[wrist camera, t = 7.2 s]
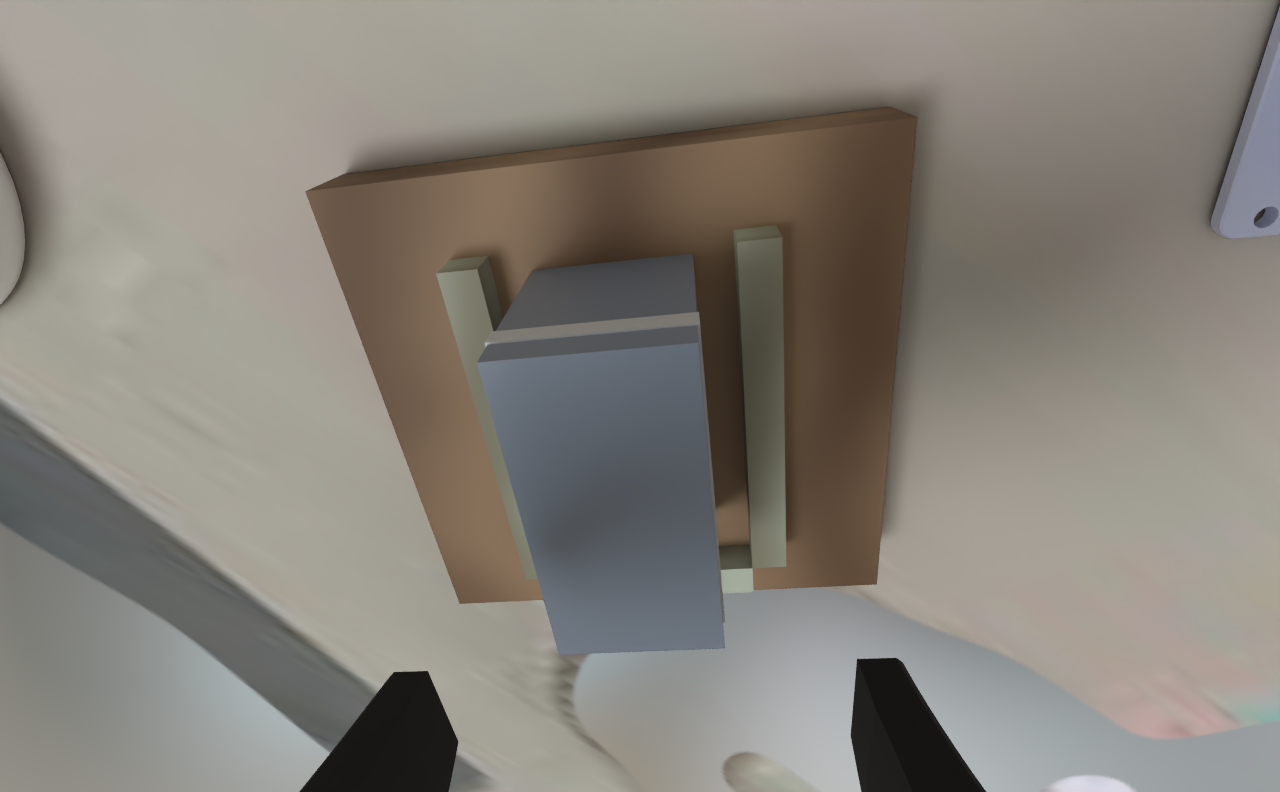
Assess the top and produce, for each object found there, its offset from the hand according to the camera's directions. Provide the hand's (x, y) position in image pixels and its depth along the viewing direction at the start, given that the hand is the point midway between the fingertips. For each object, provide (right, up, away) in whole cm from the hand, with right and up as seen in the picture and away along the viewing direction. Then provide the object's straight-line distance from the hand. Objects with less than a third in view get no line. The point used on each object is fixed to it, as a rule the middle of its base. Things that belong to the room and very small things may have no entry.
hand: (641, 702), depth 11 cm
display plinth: (0, +6, +9) cm, 10 cm away
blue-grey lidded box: (0, +5, +7) cm, 8 cm away
